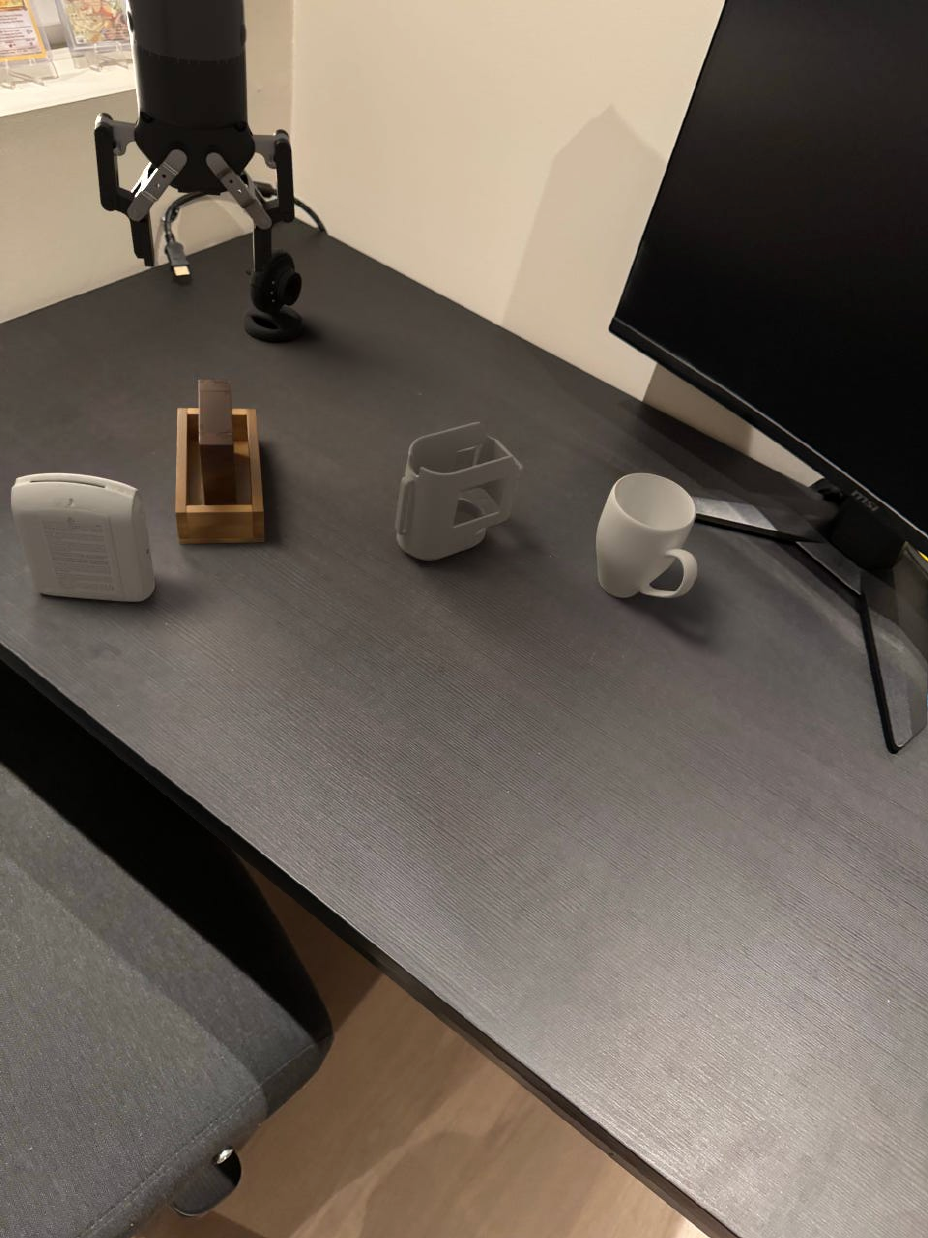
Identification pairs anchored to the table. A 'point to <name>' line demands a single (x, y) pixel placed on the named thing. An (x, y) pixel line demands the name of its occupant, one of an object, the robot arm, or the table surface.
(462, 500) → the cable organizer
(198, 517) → the holder
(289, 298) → the webcam
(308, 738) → the table surface
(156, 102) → the robot arm
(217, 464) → the brown wooden box
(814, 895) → the table surface
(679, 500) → the mug
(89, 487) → the photo printer
